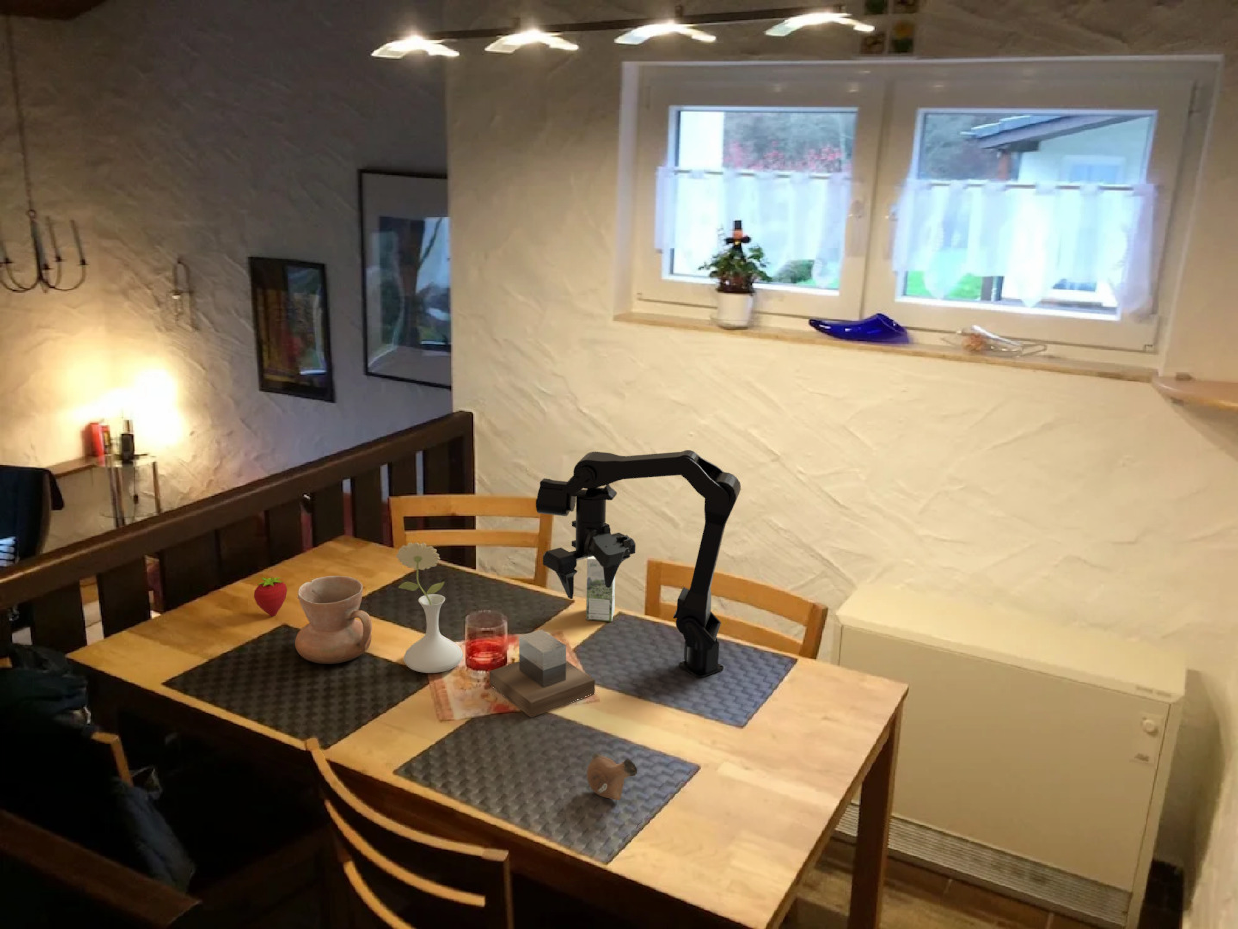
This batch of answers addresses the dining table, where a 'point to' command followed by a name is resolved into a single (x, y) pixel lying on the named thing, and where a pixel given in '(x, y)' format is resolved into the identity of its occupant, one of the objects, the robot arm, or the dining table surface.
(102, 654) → the dining table surface
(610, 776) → the oil lamp
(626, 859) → the dining table surface
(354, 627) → the ceramic jug
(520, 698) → the stand
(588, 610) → the syrup box
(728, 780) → the dining table surface
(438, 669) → the flower in vase
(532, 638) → the housing
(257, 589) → the strawberry
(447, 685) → the dining table surface
